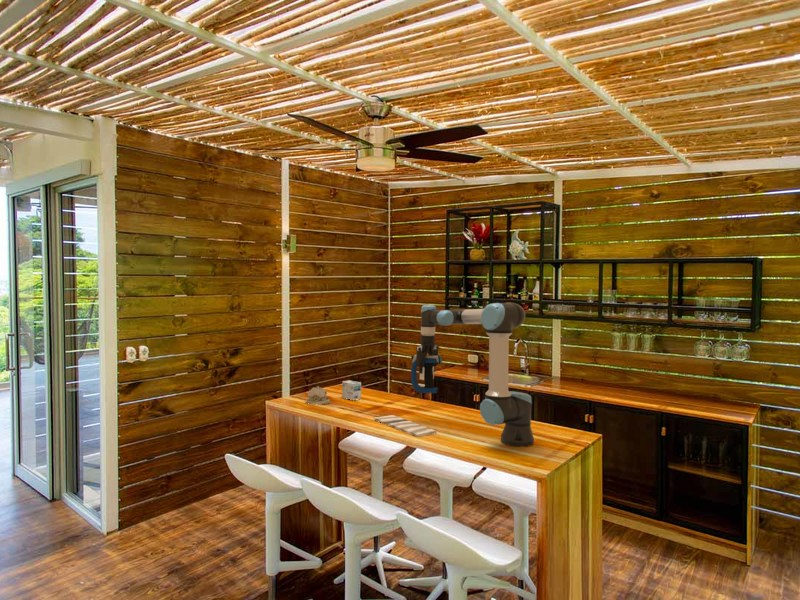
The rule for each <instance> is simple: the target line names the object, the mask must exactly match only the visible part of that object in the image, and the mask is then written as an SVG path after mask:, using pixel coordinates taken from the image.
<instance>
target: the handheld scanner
mask: <svg viewBox="0 0 800 600" xmlns="http://www.w3.org/2000/svg"><path fill="white" fill-rule="evenodd" d="M416 355H417V354H415V355H411V363H412V365H411V369H410V378H411V380H410V381H411V385H412V388H413V389H414V390H415V391H416V392H419V393H421V394H437V393H438V392H439V391H440V389H439V388H438V387H437V386H436V387H435V385H434V382H435V381H434V379H433V373H432V368H433V365H434V363H437V362H438V365H442V364H443V358H442V355H441V354H438V356H431V355H429V354H427V355H426V358H425V361H424V365H423V367H424V386H421V385H420V384H419V383H418V378H417V377H418V373H417V372H418V366H416Z"/></svg>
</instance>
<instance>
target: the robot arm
mask: <svg viewBox="0 0 800 600" xmlns="http://www.w3.org/2000/svg"><path fill="white" fill-rule="evenodd" d="M525 320H526V312H525V310H524V308H523V307H522V306H521V305H520V304H519V303H515V302H493V303H489V304H487V305H486V306H484V308H476V309H475V308H472V309H471V308H470V309H468V308H467V309H437V307H436V305H433V304H432V305H429V304H424V305H422V306H421V311H420V343H421V344H420V345H419V346H416V348H415V350H416V354H415V355H416V366H417V368H418V373H419V380H422V381H425V378H424V367H423V365H424V361H425V358H426V355H431V356H439V348H440V347H439V345H435V343H436V325H439V326H450V325H482V327H483V328H484V329H485V333H486V335H487V336H488V337H489V339H488V341H489V343H488V344H489V347H488V353H489V354H488V390H487V391H486V392H485V397H484V398H485V399H483V400H482V401H481V402H480V405H479V412H480V415H481V418H482V419H483V420H484V422H485V423H487V424H489V425H491V426H499V425H503V424H504V427H503V429H502V433H501V435H500V442H501V441H502V442H501V443H502V444H505V445H507V444H509V445H508V446H511V445H515V446H514V447H520V446H524V447H529V446H528V445H531V446H533V445H534V444H535V437H534V436H533V435H534V434H533V431H532V427H531V425H532V423H531V422H532V404H533V402H532V396H531V395H530V394H528V393H525V392H521V391H511V390H509V358H510V357H509V351H510V350H509V348H510V347H509V344H510V340H509V338H510V337H511V335H512V334H513V329H517V328H518V327H521V326H522V325H523V324H524V322H525ZM437 365H439V362H437V363H434V365H433V368H432V373H433V380H434V379H435V371H436V367H437ZM533 443H534V444H533ZM532 444H533V445H532Z"/></svg>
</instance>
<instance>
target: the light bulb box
mask: <svg viewBox="0 0 800 600" xmlns="http://www.w3.org/2000/svg"><path fill="white" fill-rule="evenodd" d="M341 386H342V387H341V398H342V397H343V398H347V399H351V400H356V399H360V398H361V399H362V382H361V381H360V382H359V381H354V380H343V381H342V383H341ZM343 398H342V399H343ZM347 399H346V400H347ZM351 400H350V401H351ZM356 401H357V400H356Z"/></svg>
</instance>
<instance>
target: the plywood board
mask: <svg viewBox="0 0 800 600" xmlns="http://www.w3.org/2000/svg"><path fill="white" fill-rule="evenodd" d="M373 420H374V421H375V420H376V422H378V421H379V422H378V423H380V422H381V423H380V424H383V423H384V424H383V425H385V424H386V426H388V425H389V427H390V426H391V428H393V427H394V428H393V429H395V428H396V430H397V431H398V430H399V431H400V430H401V432H403V433H405V432H406V433H405V434H409V435H411V436H413V437H415V436H416V437H415V438H419V437H424V436H428V435H429V436H430V435H434V433H435V434H437V430H435V429H432V428H430V427H428V426H424V425H421V424H418V423H416V422H413V421H410V420H408V419H407V418H402V417H400V416H397V415H394V414H391V415H385V416H384V415H383V416H377V417H374V419H373Z"/></svg>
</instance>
